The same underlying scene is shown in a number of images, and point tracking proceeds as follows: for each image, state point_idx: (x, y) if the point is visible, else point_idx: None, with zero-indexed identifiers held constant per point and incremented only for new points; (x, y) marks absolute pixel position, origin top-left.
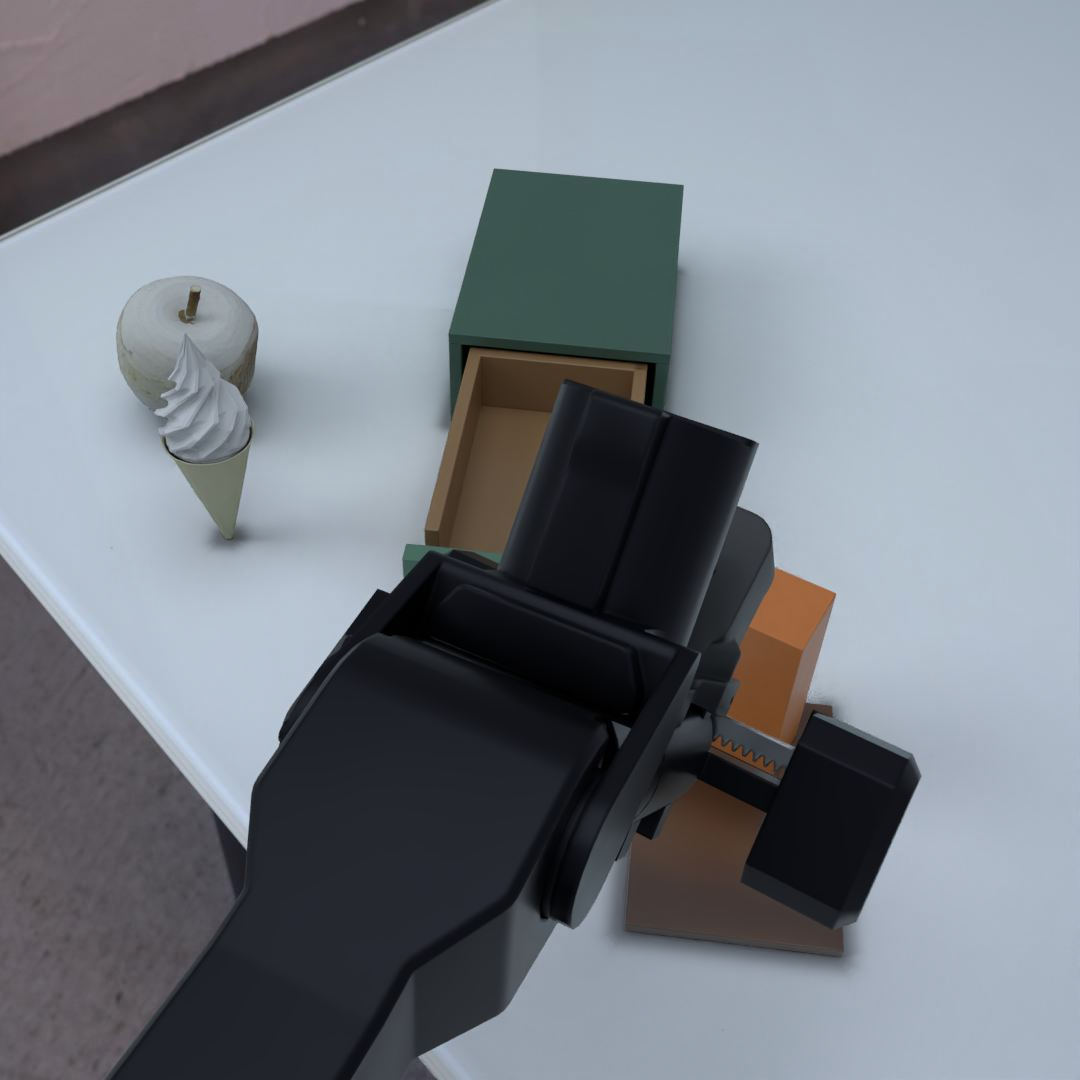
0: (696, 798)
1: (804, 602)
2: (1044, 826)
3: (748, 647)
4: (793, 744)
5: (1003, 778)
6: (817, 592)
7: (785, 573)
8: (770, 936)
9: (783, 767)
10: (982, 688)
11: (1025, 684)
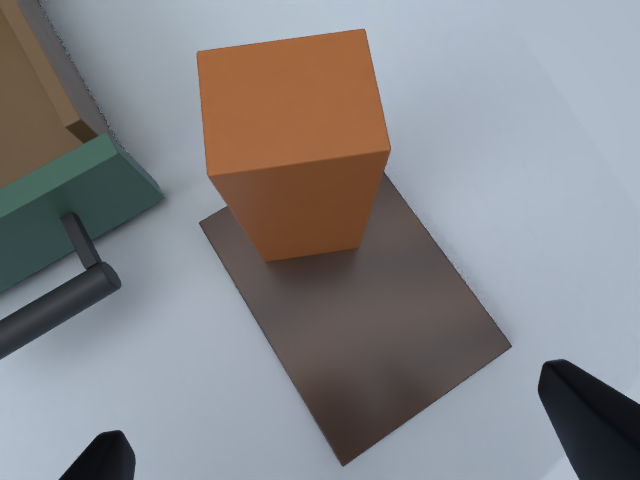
0: (314, 298)
1: (337, 71)
2: (555, 122)
3: (305, 182)
4: (621, 436)
5: (504, 102)
6: (342, 43)
7: (281, 42)
8: (455, 380)
9: (611, 475)
10: (439, 37)
11: (464, 12)
